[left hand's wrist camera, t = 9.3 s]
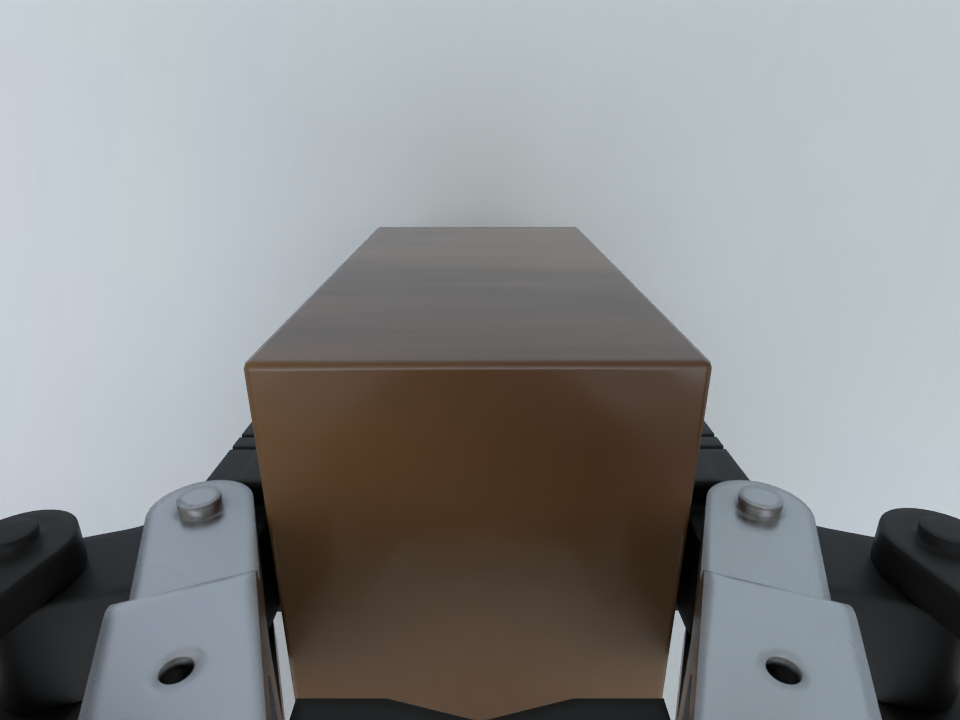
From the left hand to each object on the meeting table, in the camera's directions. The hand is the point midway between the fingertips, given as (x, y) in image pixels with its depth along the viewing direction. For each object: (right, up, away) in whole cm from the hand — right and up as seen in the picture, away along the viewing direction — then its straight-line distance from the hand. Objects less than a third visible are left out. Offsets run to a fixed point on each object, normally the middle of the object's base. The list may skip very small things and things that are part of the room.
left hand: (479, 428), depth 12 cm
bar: (0, -7, +8) cm, 10 cm away
